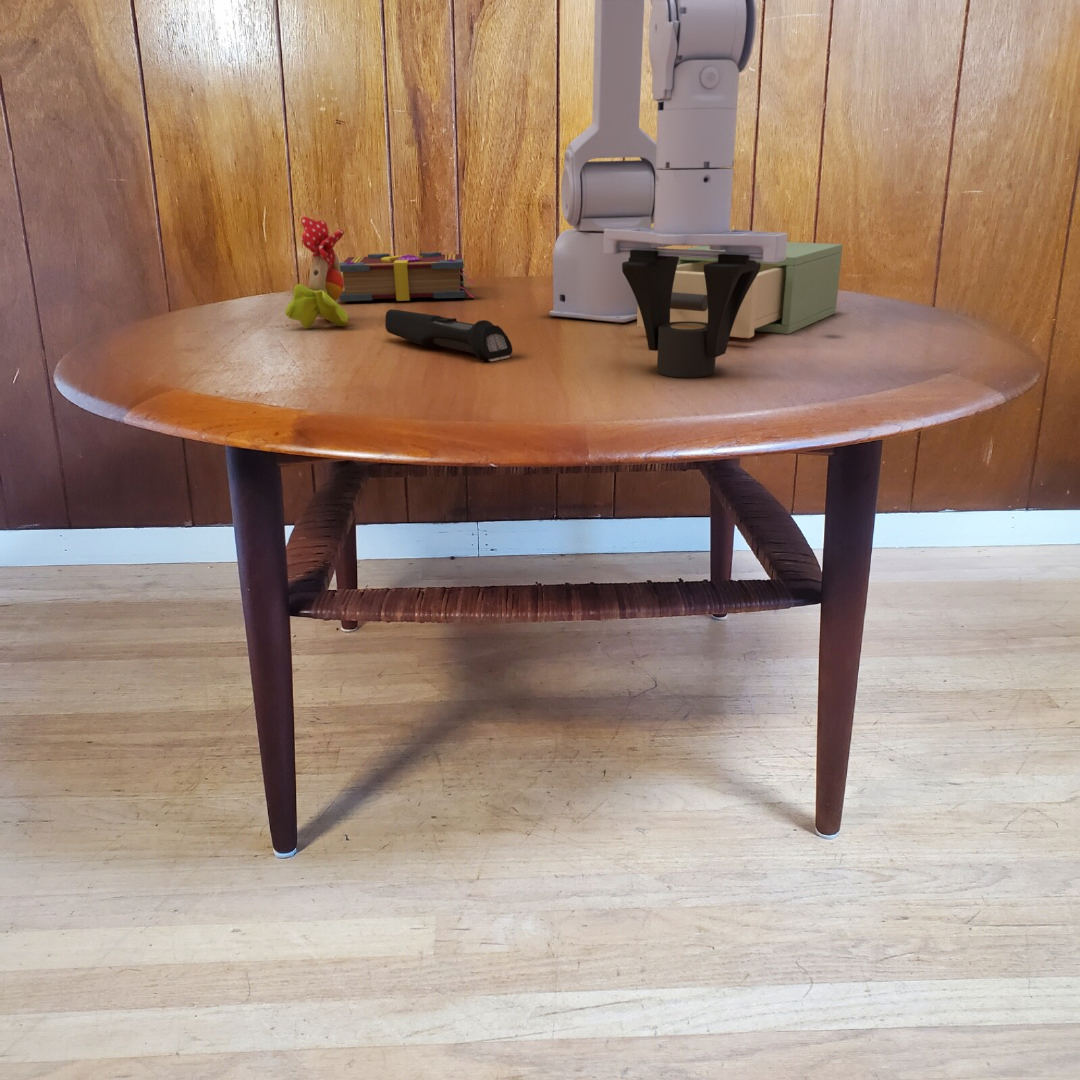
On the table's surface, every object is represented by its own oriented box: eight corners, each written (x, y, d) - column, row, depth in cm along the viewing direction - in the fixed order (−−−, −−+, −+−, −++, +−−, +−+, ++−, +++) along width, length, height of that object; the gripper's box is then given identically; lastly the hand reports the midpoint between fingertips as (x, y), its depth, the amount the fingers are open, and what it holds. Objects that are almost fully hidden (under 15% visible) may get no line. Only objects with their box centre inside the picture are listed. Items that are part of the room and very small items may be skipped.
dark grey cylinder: (646, 373, 74) (648, 328, 72) (673, 363, 77) (675, 319, 76) (699, 380, 71) (701, 333, 70) (724, 369, 75) (726, 324, 73)
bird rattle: (301, 340, 101) (279, 319, 92) (299, 239, 101) (278, 208, 92) (358, 339, 101) (342, 318, 92) (357, 238, 101) (340, 208, 92)
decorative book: (350, 291, 121) (346, 251, 119) (473, 287, 122) (471, 247, 120) (340, 304, 110) (335, 261, 108) (474, 300, 111) (472, 257, 109)
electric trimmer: (408, 337, 91) (406, 304, 90) (516, 356, 81) (514, 319, 79) (377, 343, 88) (374, 309, 87) (484, 363, 78) (482, 326, 77)
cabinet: (788, 334, 88) (795, 257, 85) (670, 323, 95) (673, 251, 92) (835, 313, 98) (843, 244, 95) (726, 304, 105) (730, 239, 102)
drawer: (729, 346, 79) (733, 282, 76) (614, 334, 85) (614, 275, 83) (799, 317, 91) (804, 262, 89) (694, 308, 97) (697, 256, 95)
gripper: (583, 170, 69) (582, 351, 74) (766, 169, 61) (751, 371, 67) (629, 168, 74) (626, 336, 80) (803, 167, 67) (787, 354, 72)
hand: (686, 351), depth 74 cm, fingers closed on dark grey cylinder, 4 cm apart
